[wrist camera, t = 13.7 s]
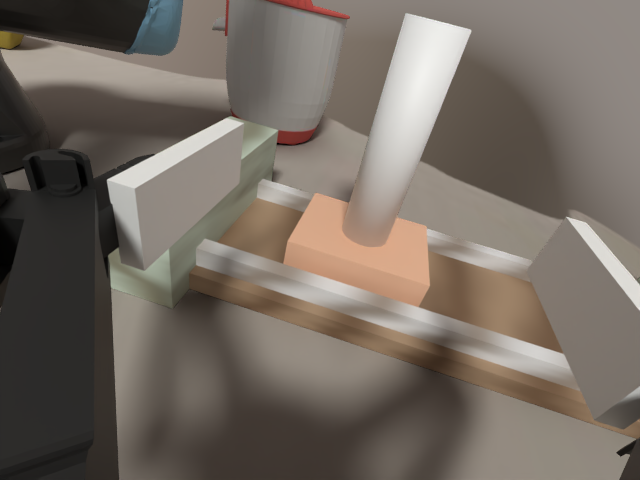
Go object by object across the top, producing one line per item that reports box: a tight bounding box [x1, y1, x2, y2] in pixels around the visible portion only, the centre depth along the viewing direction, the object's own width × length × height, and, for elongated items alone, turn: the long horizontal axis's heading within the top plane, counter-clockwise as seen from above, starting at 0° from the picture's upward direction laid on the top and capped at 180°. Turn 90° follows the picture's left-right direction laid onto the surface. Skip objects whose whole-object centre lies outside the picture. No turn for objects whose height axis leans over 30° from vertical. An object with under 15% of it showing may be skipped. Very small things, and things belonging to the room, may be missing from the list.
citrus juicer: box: [212, 0, 350, 145], centre depth 47 cm, size 16×17×20 cm
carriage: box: [283, 14, 471, 307], centre depth 23 cm, size 10×8×16 cm
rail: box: [108, 116, 640, 439], centre depth 26 cm, size 48×18×7 cm, turn 77°
